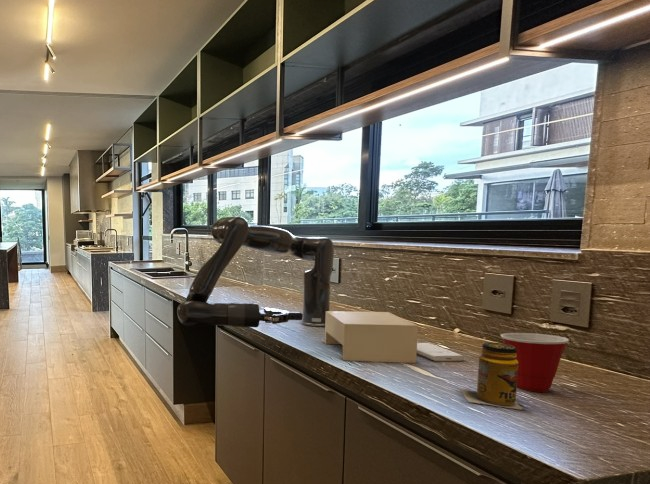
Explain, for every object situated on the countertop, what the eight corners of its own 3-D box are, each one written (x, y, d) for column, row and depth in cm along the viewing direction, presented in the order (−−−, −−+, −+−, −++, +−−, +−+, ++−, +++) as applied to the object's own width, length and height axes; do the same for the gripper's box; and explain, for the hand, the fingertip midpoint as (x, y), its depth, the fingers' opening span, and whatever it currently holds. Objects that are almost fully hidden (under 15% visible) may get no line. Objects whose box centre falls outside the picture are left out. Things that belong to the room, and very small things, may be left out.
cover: (324, 342, 132) (325, 311, 131) (386, 344, 128) (388, 312, 127) (343, 360, 114) (344, 323, 113) (416, 363, 111) (418, 325, 110)
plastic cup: (515, 376, 100) (518, 327, 99) (576, 392, 90) (581, 338, 88) (485, 382, 96) (488, 332, 95) (545, 399, 86) (550, 344, 85)
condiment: (523, 410, 82) (528, 351, 80) (468, 402, 86) (472, 346, 85) (510, 397, 88) (514, 342, 87) (459, 390, 92) (463, 338, 91)
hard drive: (430, 348, 124) (463, 360, 112) (402, 348, 124) (433, 361, 112) (430, 342, 124) (464, 355, 112) (402, 343, 124) (433, 355, 112)
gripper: (244, 306, 121) (307, 307, 117) (240, 299, 134) (297, 300, 130) (244, 331, 121) (307, 333, 118) (240, 322, 134) (296, 323, 131)
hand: (301, 316), depth 124 cm, fingers closed
